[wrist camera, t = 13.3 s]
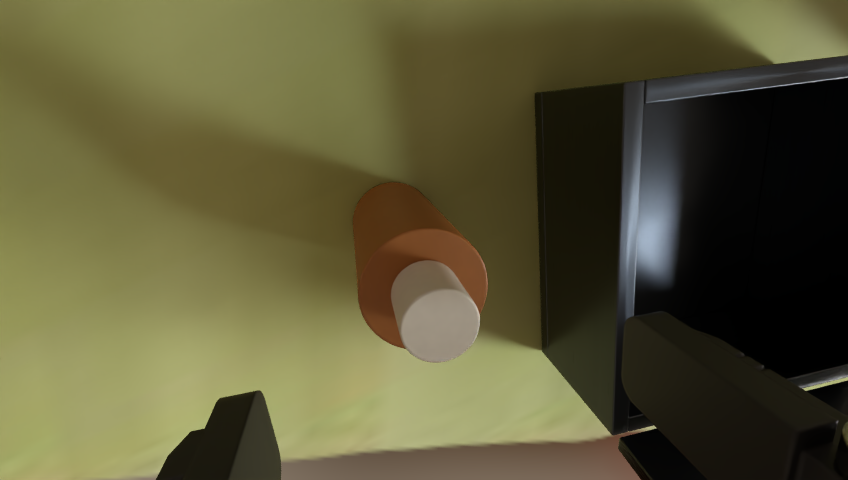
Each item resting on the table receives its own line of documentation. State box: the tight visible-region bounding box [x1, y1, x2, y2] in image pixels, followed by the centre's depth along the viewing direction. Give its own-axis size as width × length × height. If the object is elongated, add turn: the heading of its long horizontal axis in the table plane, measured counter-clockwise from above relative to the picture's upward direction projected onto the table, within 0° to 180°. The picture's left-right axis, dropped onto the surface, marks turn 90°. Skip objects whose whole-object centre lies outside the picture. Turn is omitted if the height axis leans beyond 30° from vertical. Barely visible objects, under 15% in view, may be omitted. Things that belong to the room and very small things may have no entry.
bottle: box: [353, 182, 488, 362], centre depth 18 cm, size 5×5×12 cm
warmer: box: [535, 55, 848, 435], centre depth 23 cm, size 17×16×8 cm
